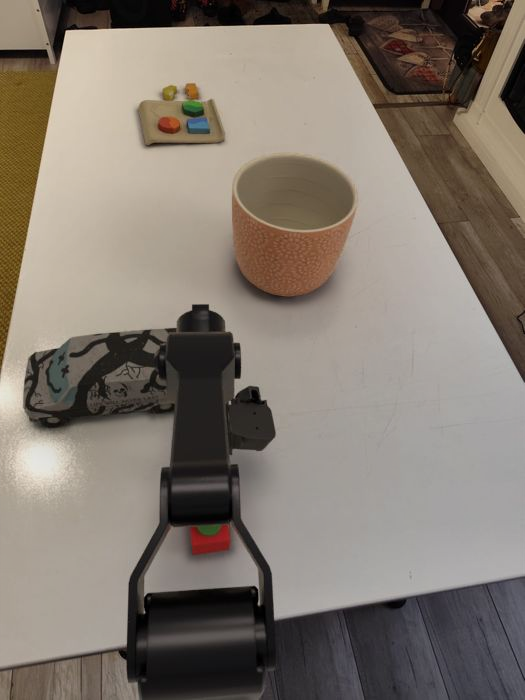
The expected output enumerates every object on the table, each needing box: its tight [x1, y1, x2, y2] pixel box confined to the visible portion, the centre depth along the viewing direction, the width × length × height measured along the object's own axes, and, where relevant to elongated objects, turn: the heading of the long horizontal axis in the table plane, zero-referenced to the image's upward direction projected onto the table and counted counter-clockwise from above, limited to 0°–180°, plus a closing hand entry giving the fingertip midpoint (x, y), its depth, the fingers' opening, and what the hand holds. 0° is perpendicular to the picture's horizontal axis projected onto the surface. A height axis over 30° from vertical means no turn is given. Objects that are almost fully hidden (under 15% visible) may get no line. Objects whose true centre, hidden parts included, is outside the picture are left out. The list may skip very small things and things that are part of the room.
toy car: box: [22, 327, 177, 429], centre depth 78 cm, size 11×25×10 cm, turn 100°
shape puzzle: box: [138, 82, 226, 146], centre depth 128 cm, size 25×19×3 cm
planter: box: [231, 152, 359, 297], centre depth 93 cm, size 21×21×19 cm
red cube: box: [189, 525, 231, 556], centre depth 68 cm, size 5×5×5 cm
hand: (204, 467), depth 70 cm, fingers closed
